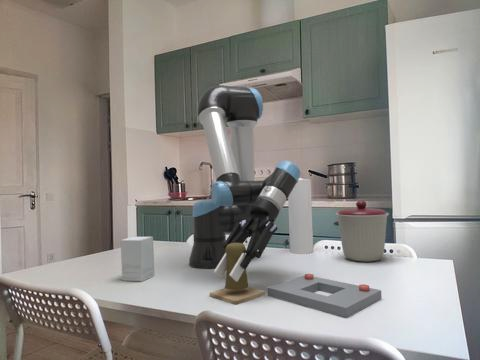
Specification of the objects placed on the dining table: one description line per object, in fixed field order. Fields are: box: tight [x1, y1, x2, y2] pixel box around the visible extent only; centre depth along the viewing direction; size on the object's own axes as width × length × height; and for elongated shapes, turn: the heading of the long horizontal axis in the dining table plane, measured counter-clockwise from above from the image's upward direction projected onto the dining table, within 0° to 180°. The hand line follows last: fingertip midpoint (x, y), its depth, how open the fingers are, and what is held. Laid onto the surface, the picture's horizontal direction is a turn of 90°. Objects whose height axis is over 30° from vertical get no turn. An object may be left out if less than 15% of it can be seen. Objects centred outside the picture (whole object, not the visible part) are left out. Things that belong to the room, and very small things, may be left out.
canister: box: [335, 200, 390, 263], centre depth 126 cm, size 18×18×21 cm
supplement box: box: [120, 236, 155, 282], centre depth 110 cm, size 7×7×13 cm
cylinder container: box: [287, 177, 314, 255], centre depth 144 cm, size 9×9×30 cm
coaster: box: [209, 286, 266, 306], centre depth 89 cm, size 10×10×1 cm
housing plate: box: [266, 273, 382, 319], centre depth 86 cm, size 22×16×3 cm
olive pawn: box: [224, 243, 250, 290], centre depth 89 cm, size 6×6×11 cm
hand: (225, 276), depth 87 cm, fingers closed on olive pawn, 5 cm apart
